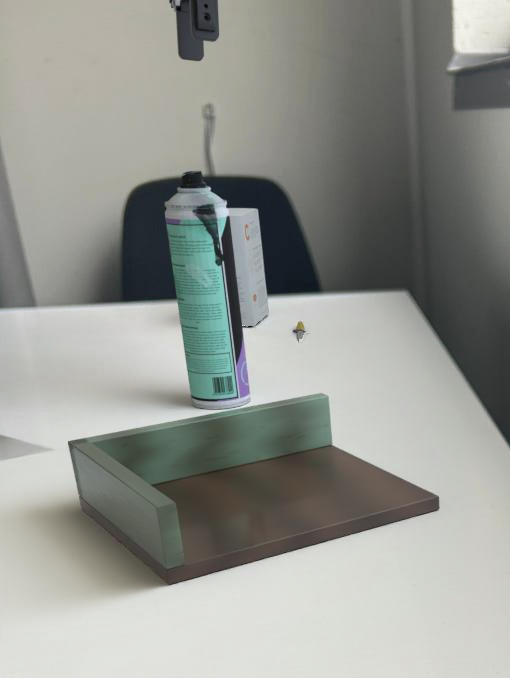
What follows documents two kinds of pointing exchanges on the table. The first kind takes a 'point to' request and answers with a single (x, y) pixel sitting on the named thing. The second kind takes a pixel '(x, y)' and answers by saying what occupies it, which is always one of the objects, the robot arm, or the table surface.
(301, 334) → the dagger
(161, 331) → the table surface
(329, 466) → the corner board
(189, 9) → the robot arm
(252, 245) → the small box
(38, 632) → the table surface
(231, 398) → the spray can
